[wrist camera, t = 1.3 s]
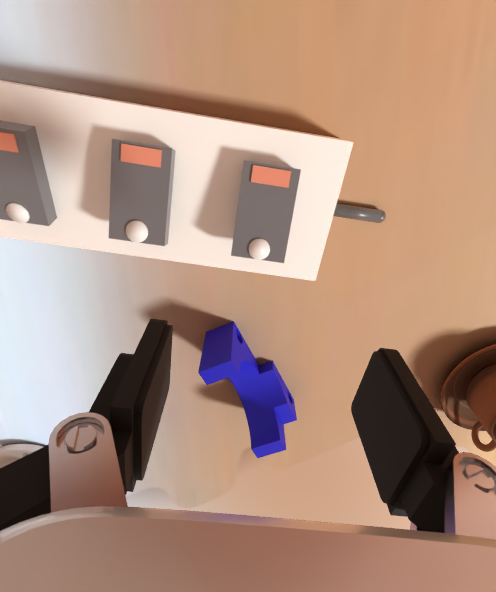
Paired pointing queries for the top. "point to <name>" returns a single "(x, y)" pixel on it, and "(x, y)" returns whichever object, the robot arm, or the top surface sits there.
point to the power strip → (176, 178)
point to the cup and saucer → (473, 395)
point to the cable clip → (250, 387)
